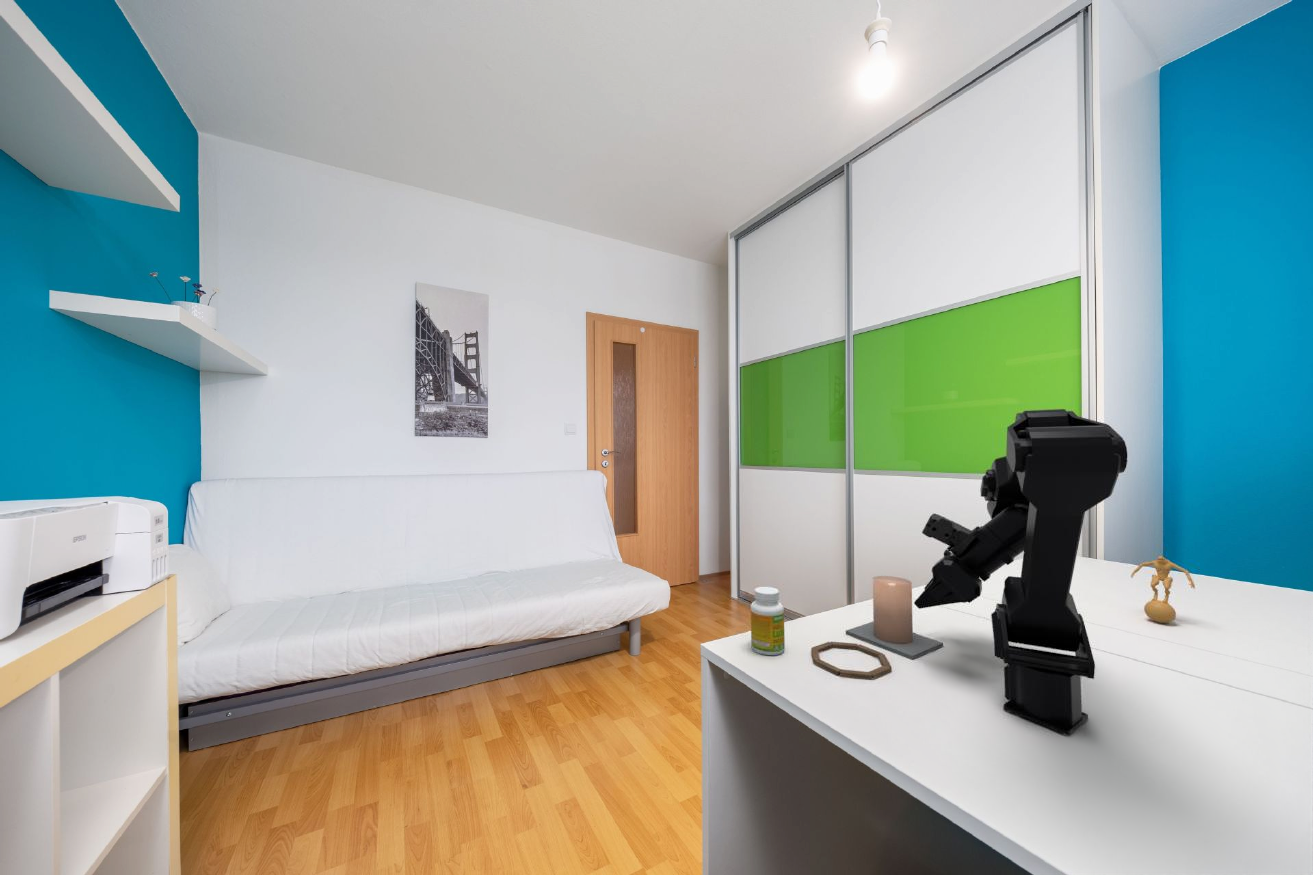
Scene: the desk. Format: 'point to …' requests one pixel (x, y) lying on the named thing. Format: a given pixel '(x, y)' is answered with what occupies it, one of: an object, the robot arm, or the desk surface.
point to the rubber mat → (909, 650)
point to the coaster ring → (850, 673)
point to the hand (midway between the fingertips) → (921, 597)
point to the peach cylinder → (892, 609)
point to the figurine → (1162, 609)
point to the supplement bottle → (767, 622)
